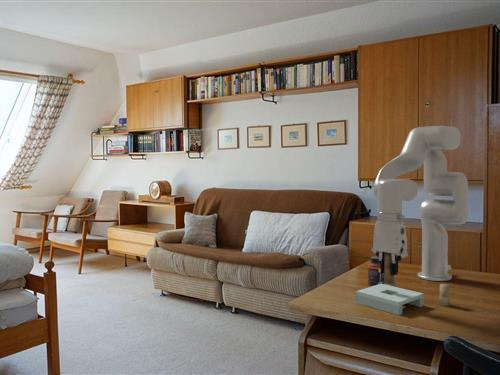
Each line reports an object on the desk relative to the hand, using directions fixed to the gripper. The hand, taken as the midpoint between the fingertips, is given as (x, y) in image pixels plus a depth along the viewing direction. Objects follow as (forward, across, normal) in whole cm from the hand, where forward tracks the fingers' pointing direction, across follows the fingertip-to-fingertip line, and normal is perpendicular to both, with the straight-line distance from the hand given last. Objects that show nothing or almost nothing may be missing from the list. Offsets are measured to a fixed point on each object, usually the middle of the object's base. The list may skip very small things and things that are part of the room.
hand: (389, 273), depth 146 cm
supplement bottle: (+10, +15, -14) cm, 23 cm away
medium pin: (+10, -12, -13) cm, 21 cm away
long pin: (+3, 0, 0) cm, 3 cm away
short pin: (+10, +8, -13) cm, 19 cm away
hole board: (+10, 0, 0) cm, 10 cm away
